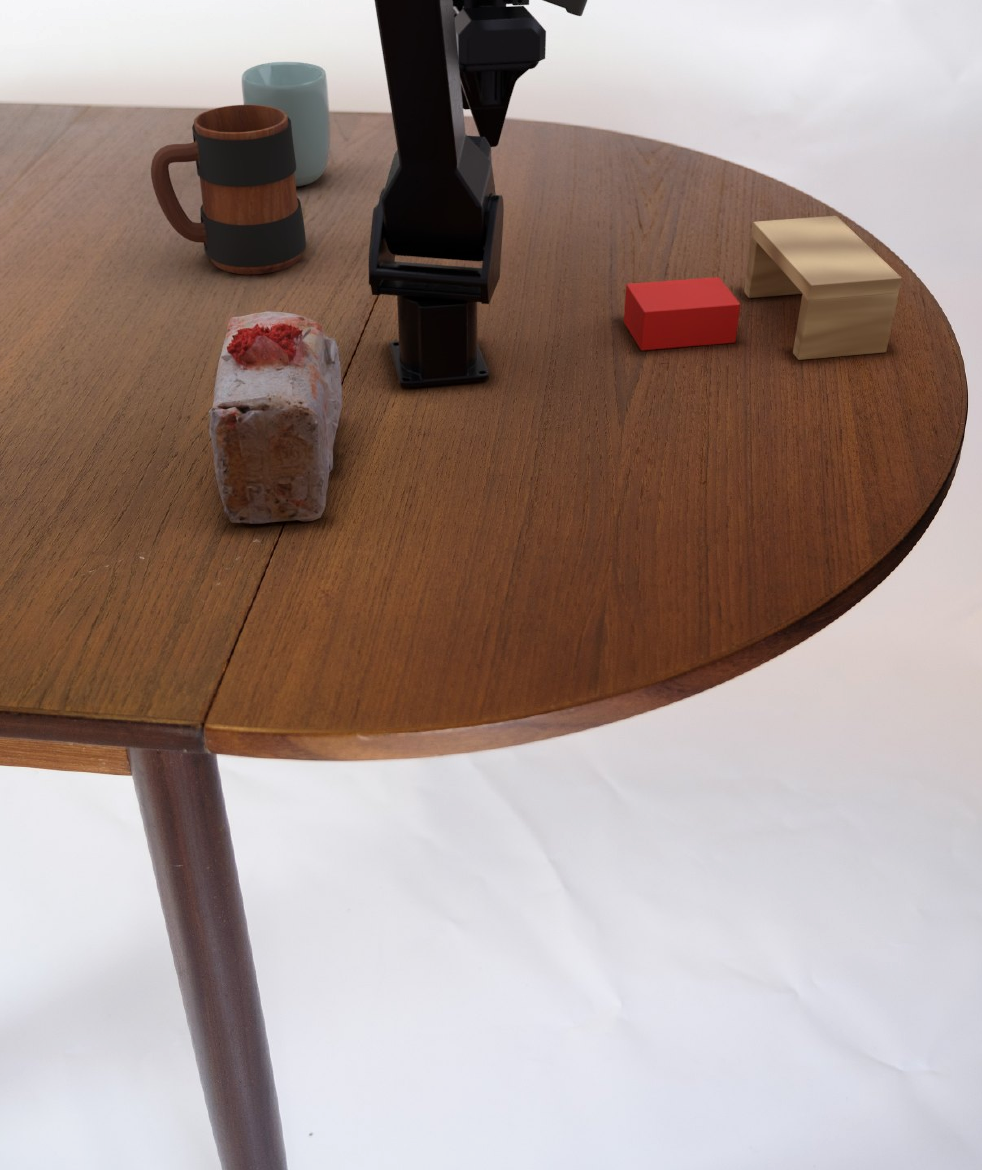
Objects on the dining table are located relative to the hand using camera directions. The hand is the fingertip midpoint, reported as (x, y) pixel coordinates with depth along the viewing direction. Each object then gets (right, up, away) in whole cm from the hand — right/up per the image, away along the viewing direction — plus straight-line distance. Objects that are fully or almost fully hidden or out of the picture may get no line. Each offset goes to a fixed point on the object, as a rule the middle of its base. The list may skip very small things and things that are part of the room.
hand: (479, 127), depth 100 cm
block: (+15, -16, -2) cm, 23 cm away
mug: (-21, -8, +9) cm, 24 cm away
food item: (-12, -28, -17) cm, 35 cm away
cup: (-18, +3, +24) cm, 30 cm away
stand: (+26, -15, 0) cm, 30 cm away
